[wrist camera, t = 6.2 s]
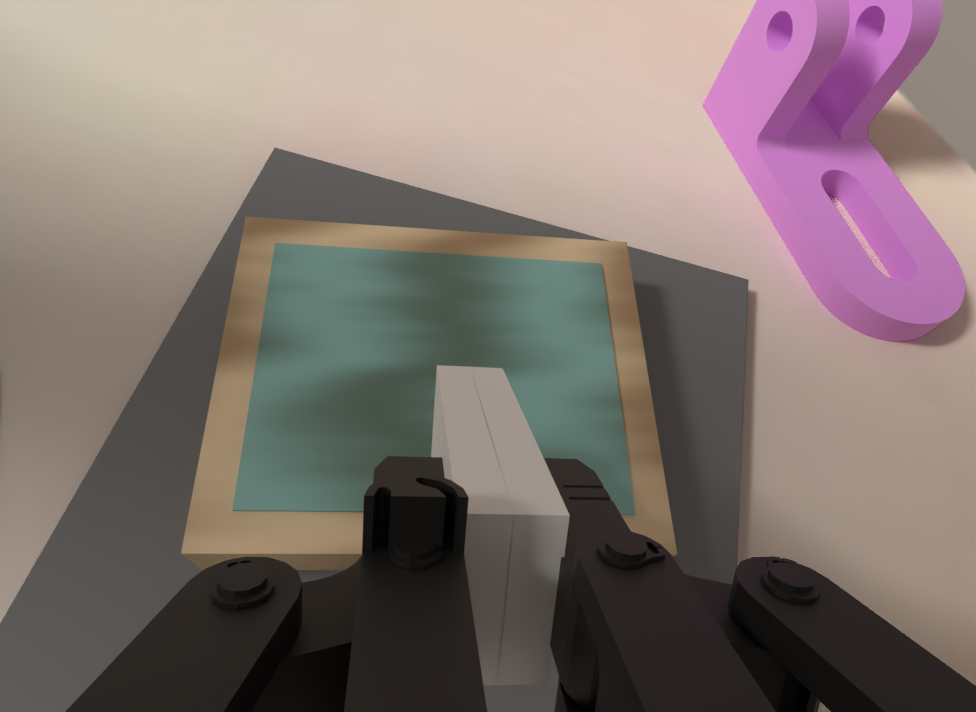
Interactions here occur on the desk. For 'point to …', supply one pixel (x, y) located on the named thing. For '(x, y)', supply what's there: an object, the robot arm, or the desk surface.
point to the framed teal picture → (409, 376)
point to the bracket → (837, 154)
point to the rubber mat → (164, 570)
